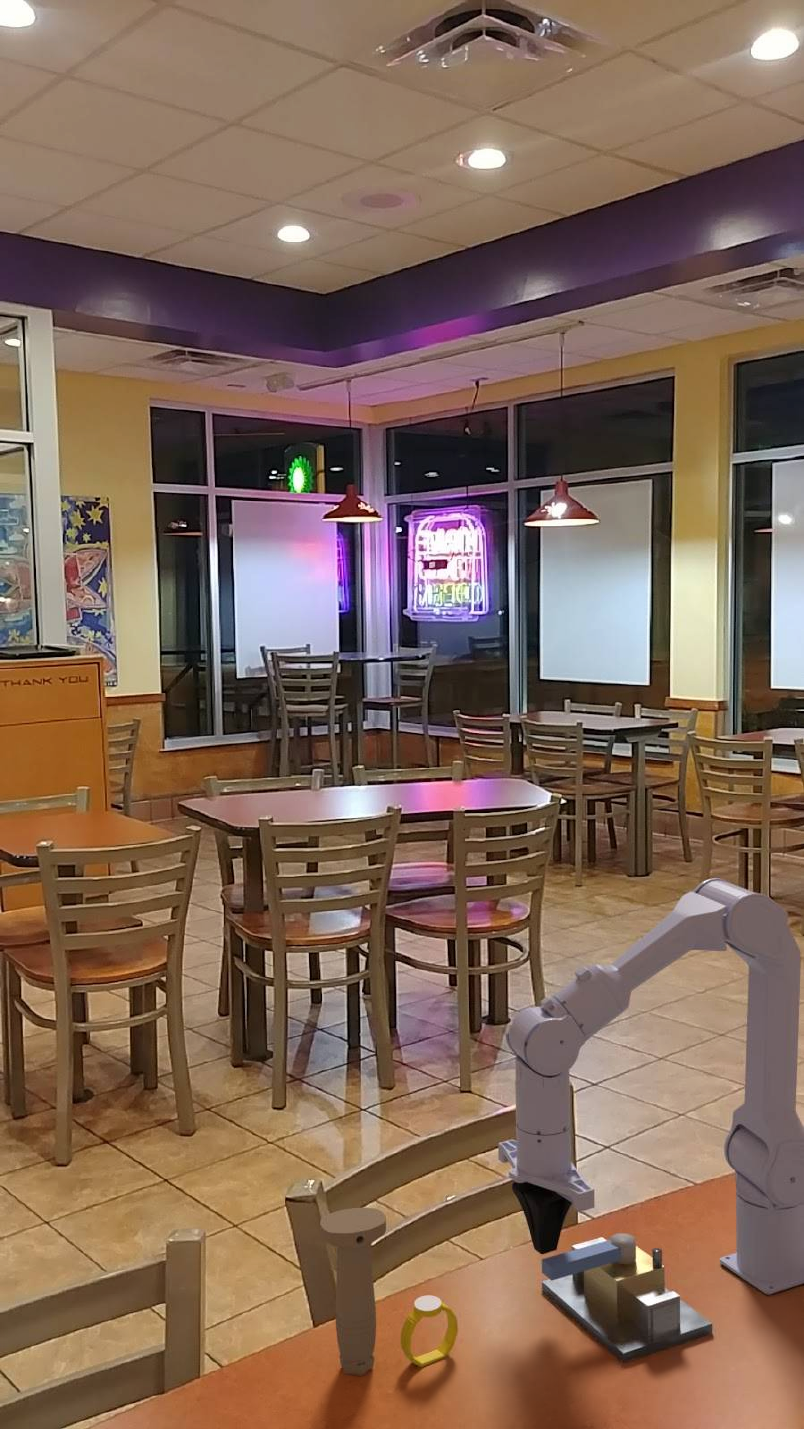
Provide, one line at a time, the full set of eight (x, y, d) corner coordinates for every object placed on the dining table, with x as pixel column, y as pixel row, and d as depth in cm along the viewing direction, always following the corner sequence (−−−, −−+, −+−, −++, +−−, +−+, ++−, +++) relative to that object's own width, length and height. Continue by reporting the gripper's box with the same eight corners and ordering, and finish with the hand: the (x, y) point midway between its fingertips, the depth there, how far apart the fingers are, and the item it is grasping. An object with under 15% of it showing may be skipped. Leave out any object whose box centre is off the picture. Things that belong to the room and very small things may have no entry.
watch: (413, 1379, 118) (408, 1321, 118) (398, 1364, 121) (393, 1308, 120) (464, 1354, 121) (459, 1297, 121) (448, 1340, 124) (443, 1285, 123)
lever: (626, 1249, 130) (626, 1231, 130) (641, 1260, 127) (640, 1241, 127) (540, 1274, 125) (539, 1255, 125) (553, 1286, 123) (553, 1267, 123)
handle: (395, 1375, 118) (391, 1225, 117) (331, 1388, 116) (327, 1237, 115) (381, 1347, 123) (377, 1203, 122) (319, 1360, 121) (315, 1214, 120)
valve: (625, 1265, 138) (624, 1203, 137) (712, 1332, 124) (711, 1264, 124) (542, 1290, 133) (540, 1226, 132) (623, 1362, 119) (622, 1292, 119)
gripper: (474, 1109, 132) (476, 1230, 133) (553, 1158, 120) (556, 1291, 121) (527, 1096, 136) (529, 1214, 137) (610, 1142, 123) (612, 1271, 124)
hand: (545, 1249), depth 129 cm, fingers closed
